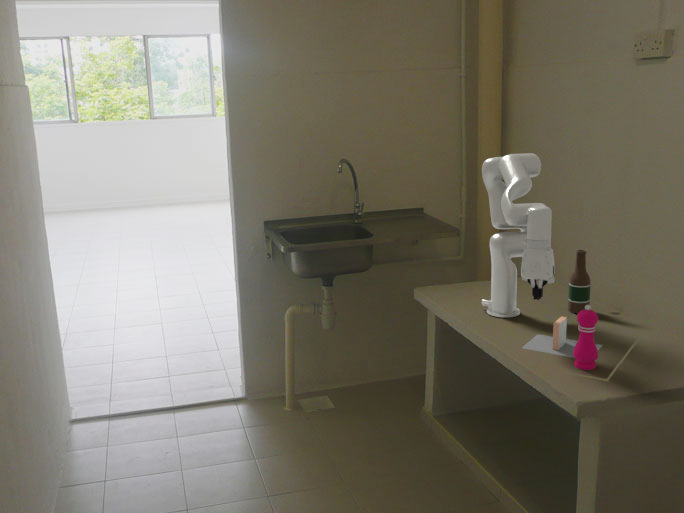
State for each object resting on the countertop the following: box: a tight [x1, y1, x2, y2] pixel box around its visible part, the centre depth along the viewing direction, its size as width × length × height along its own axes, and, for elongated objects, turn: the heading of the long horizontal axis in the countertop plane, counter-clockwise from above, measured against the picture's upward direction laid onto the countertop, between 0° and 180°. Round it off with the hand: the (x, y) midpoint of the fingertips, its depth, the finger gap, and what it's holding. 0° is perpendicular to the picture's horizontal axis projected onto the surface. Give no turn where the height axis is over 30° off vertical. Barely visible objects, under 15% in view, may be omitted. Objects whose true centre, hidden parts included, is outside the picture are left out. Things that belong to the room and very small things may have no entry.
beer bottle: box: [567, 249, 591, 315], centre depth 264 cm, size 8×8×24 cm
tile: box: [552, 316, 568, 350], centre depth 227 cm, size 2×8×9 cm, turn 146°
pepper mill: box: [573, 304, 599, 371], centre depth 209 cm, size 7×7×20 cm
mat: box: [521, 333, 604, 359], centre depth 228 cm, size 22×16×1 cm
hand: (537, 298), depth 229 cm, fingers closed
